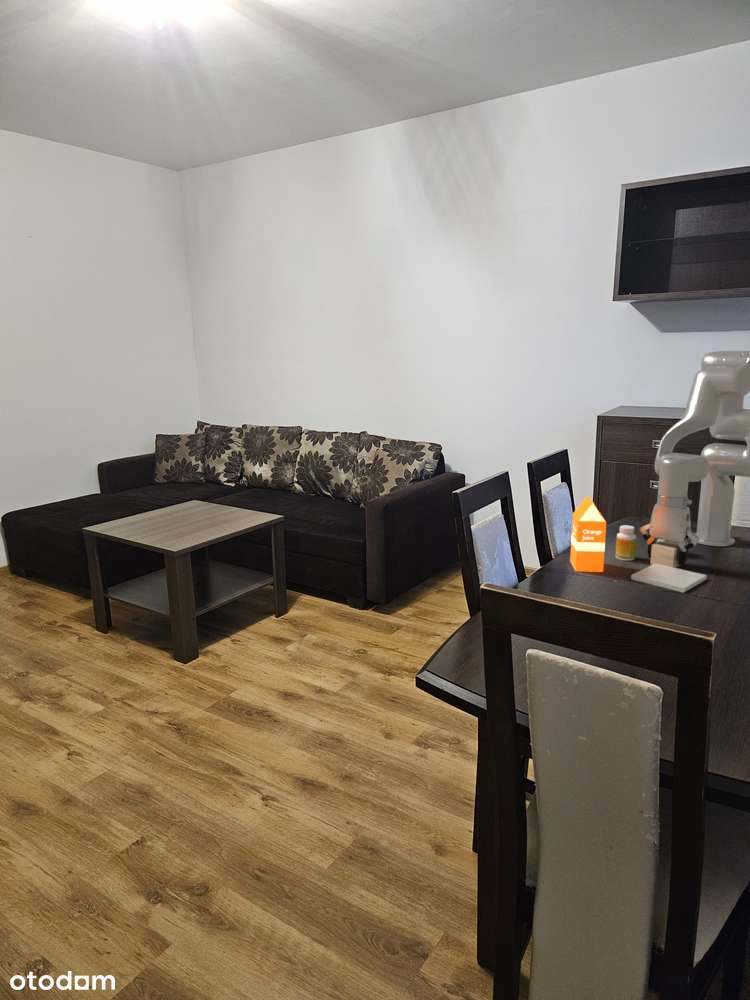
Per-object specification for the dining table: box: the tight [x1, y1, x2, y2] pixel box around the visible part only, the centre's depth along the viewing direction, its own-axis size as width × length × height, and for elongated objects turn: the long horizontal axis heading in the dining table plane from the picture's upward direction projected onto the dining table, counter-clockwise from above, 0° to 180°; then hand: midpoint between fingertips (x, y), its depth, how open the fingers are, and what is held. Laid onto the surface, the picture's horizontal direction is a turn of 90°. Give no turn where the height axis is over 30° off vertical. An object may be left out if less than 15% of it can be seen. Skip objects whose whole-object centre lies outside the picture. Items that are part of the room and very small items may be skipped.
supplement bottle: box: [614, 524, 637, 562], centre depth 190 cm, size 5×5×10 cm
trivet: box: [630, 563, 708, 594], centre depth 172 cm, size 14×14×1 cm
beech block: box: [649, 541, 681, 568], centre depth 184 cm, size 6×6×6 cm
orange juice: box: [569, 495, 607, 573], centre depth 182 cm, size 8×9×20 cm
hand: (666, 560), depth 184 cm, fingers open, 8 cm apart
